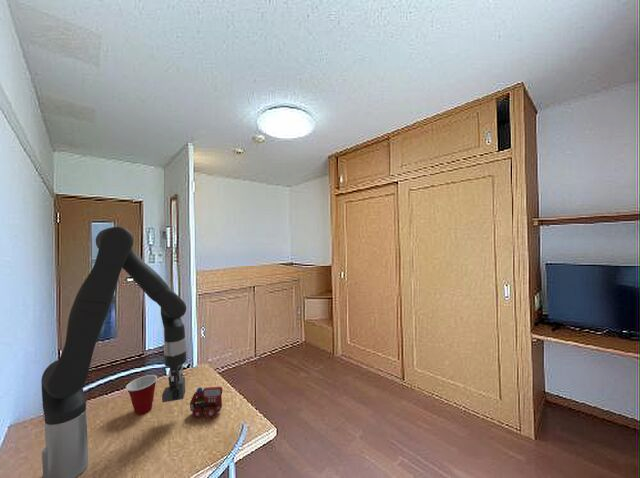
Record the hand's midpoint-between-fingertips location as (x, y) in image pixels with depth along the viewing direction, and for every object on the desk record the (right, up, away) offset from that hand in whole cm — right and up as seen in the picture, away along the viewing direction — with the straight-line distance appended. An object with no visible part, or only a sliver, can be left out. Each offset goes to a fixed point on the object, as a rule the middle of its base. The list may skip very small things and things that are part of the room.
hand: (177, 394), depth 108 cm
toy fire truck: (+10, -9, +3) cm, 14 cm away
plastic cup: (-16, -10, +6) cm, 20 cm away
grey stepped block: (-1, -1, 0) cm, 1 cm away
